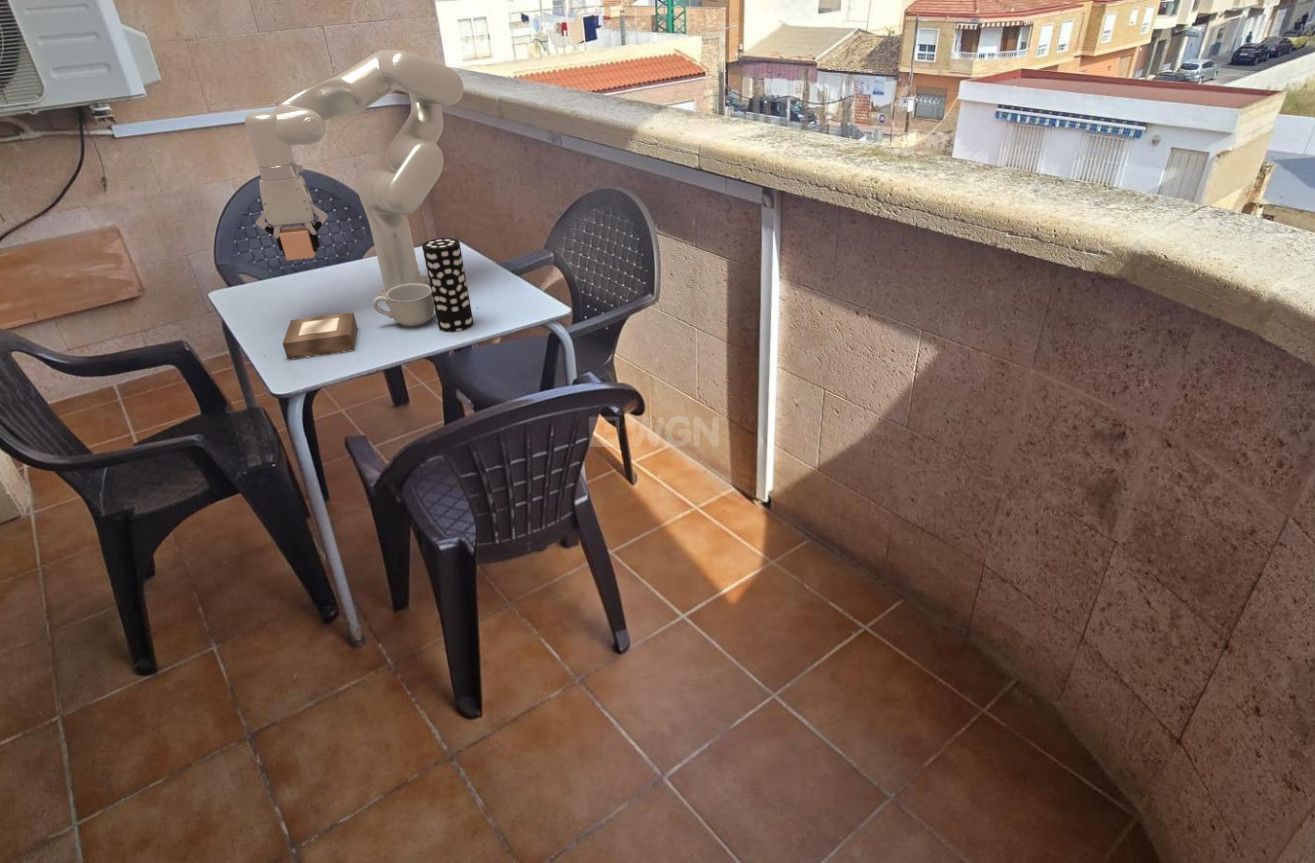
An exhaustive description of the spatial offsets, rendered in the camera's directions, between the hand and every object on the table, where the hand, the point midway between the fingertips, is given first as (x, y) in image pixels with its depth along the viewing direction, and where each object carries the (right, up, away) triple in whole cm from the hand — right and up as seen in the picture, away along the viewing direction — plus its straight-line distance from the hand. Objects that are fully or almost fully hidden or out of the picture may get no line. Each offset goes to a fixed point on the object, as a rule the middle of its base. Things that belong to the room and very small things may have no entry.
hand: (301, 251), depth 172 cm
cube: (0, -1, +1) cm, 1 cm away
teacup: (+23, -16, +7) cm, 29 cm away
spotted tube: (+35, -17, +4) cm, 40 cm away
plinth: (+7, -22, -3) cm, 23 cm away
